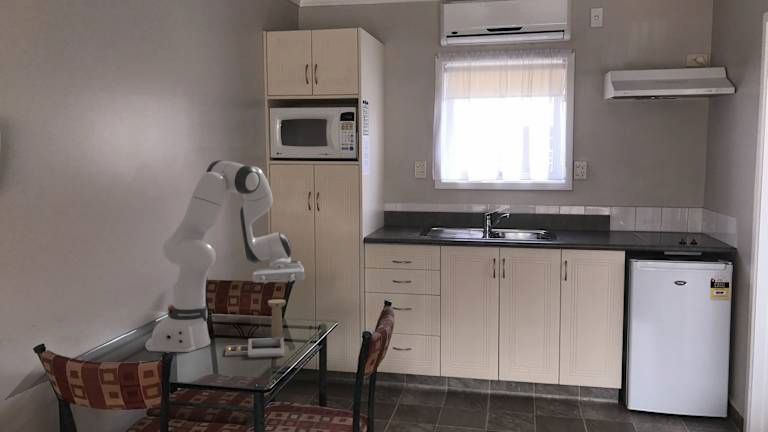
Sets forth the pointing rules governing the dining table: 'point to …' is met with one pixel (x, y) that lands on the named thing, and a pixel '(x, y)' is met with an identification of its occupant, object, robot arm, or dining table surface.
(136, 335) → the dining table surface
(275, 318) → the handle
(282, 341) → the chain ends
